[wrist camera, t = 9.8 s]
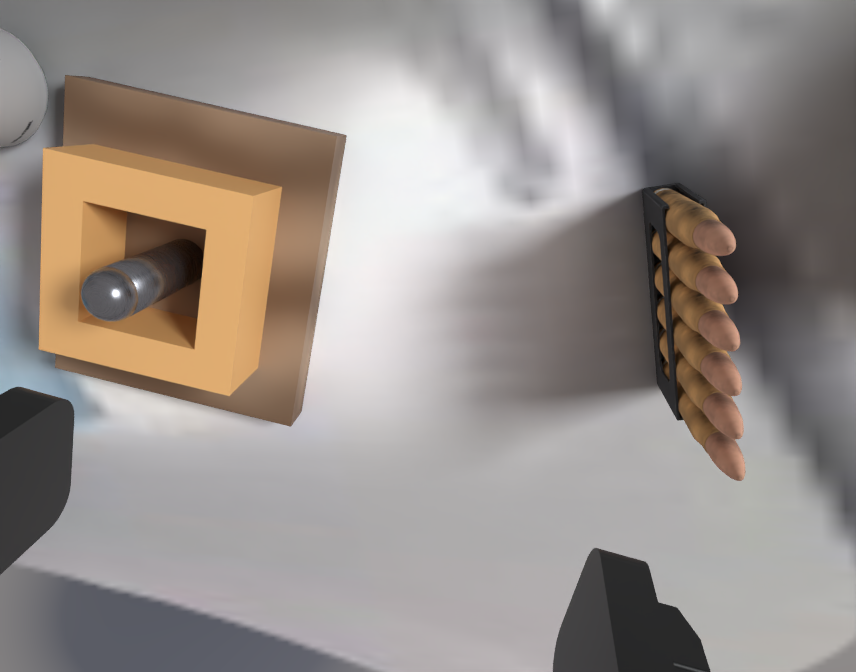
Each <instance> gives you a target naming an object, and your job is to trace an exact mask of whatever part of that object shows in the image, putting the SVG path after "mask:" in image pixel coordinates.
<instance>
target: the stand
mask: <svg viewBox="0 0 856 672" xmlns="http://www.w3.org/2000/svg"><path fill="white" fill-rule="evenodd" d="M345 142H346V135H344V134H339V133H335V132H330V131H326V130H321V129H317V128H313V127H308V126H304V125H299V124H295V123H290V122H286V121H282V120H277V119H273V118H268V117H264V116H259V115H255V114H251V113H246V112H242V111H237V110H233V109H228V108H224V107H220V106H215V105H211V104H206V103H202V102H197V101H193V100H189V99H184V98H180V97H175V96H171V95H166V94H162V93H158V92H153V91H149V90H144V89H140V88H135V87H131V86H127V85H122V84H118V83H113V82H109V81H104V80H100V79H96V78H91V77H83V76H70V75H65V98H64V127H63V146H76V145H89V144H95V145H100V146H104V147H109V148H113V149H117V150H122V151H126V152H131V153H135V154H139V155H144V156H148V157H153V158H157V159H161V160H166V161H170V162H175V163H179V164H184V165H188V166H192V167H197V168H201V169H206V170H210V171H214V172H219V173H223V174H228V175H232V176H236V177H241V178H245V179H250V180H254V181H258V182H263V183H267V184H272V185H276V186H280V187H282V192H281V199H280V207H279V214H278V222H277V229H276V237H275V244H274V252H273V259H272V267H271V274H270V281H269V289H268V296H267V304H266V311H265V319H264V326H263V334H262V341H261V349H260V356H259V364H258V368H257V369H256V370H255V371H254V372H253V373H252V374H251V375H250V376H249V377H248V378H247V379H246V380H245V381H244V382H243V383H242V384H241V385H240V386H239V387H238V388H237V389H236V390H235V391H234V392H233V393H232V394H231V395H230V396H227V395H223V394H218V393H214V392H210V391H206V390H202V389H198V388H194V387H190V386H186V385H182V384H178V383H174V382H169V381H165V380H161V379H157V378H153V377H149V376H145V375H141V374H137V373H133V372H129V371H124V370H120V369H116V368H112V367H108V366H104V365H100V364H96V363H92V362H88V361H84V360H79V359H75V358H71V357H67V356H63V355H59V354H56V361H55V368H58V369H62V370H66V371H70V372H74V373H78V374H82V375H86V376H90V377H94V378H98V379H102V380H106V381H110V382H114V383H118V384H122V385H126V386H130V387H134V388H139V389H143V390H147V391H151V392H155V393H159V394H163V395H167V396H171V397H175V398H179V399H183V400H187V401H191V402H195V403H199V404H203V405H207V406H211V407H215V408H219V409H223V410H227V411H231V412H235V413H239V414H243V415H247V416H251V417H255V418H259V419H263V420H267V421H271V422H275V423H279V424H283V425H287V426H291V425H292V424H293V423H294V421H295V420H296V419H297V417H298V416H299V414H300V413H301V411H302V404H303V398H304V392H305V386H306V380H307V374H308V368H309V362H310V356H311V349H312V343H313V337H314V331H315V325H316V319H317V313H318V307H319V301H320V294H321V288H322V282H323V276H324V270H325V264H326V258H327V252H328V245H329V239H330V233H331V227H332V221H333V215H334V209H335V203H336V197H337V190H338V184H339V178H340V172H341V166H342V160H343V154H344V148H345ZM205 240H206V229H202V228H197V227H193V226H189V225H184V224H180V223H176V222H171V221H167V220H163V219H158V218H154V217H150V216H145V215H141V214H137V213H133V212H128V211H127V224H126V240H125V256H124V259H123V260H120V261H118V262H115V263H112V264H110V265H107V266H104V267H102V268H99V269H97V270H95V271H93V272H92V273H91V274H90V275H88V277H87V278H86V279H85V281H84V283H83V285H82V289H81V298H82V302H83V305H84V306H85V308H86V309H87V311H88V312H89V313H90V314H91V315H93V316H94V317H96V318H98V319H100V320H103V321H108V322H116V321H121V320H124V319H126V318H128V317H130V316H132V315H134V314H136V313H138V312H140V311H142V310H143V309H145V308H147V307H150V308H155V309H159V310H163V311H167V312H171V313H175V314H180V315H184V316H188V317H192V318H196V319H198V309H199V299H200V289H201V279H202V269H203V259H204V250H205Z"/></svg>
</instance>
